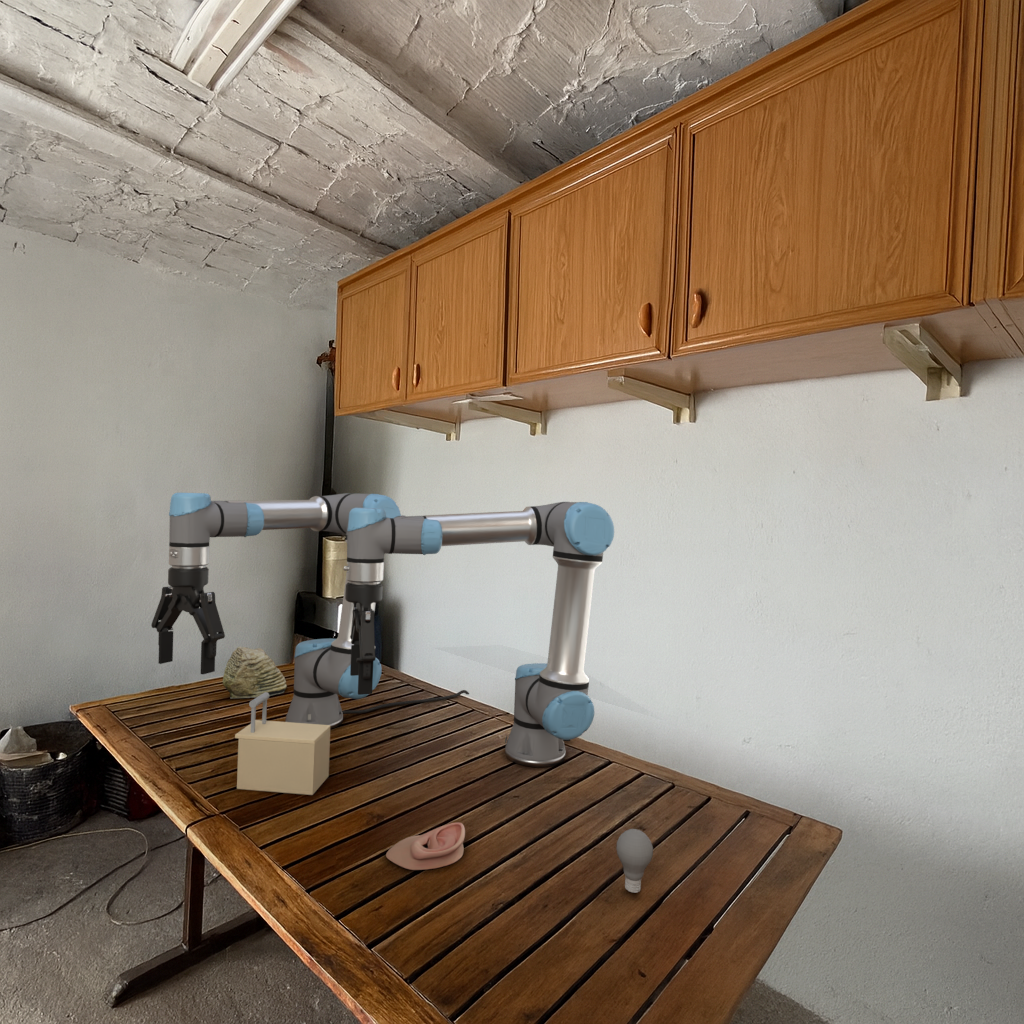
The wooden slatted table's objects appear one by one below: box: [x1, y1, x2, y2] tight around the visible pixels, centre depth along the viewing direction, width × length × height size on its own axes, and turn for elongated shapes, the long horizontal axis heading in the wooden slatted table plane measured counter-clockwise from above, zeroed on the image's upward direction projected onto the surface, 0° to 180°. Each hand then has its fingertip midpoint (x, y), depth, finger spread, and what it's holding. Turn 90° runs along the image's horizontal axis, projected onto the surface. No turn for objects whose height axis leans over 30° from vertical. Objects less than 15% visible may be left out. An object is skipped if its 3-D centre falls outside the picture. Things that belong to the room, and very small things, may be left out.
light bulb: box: [615, 828, 654, 894], centre depth 106 cm, size 6×6×10 cm
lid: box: [234, 692, 331, 744], centre depth 139 cm, size 18×9×8 cm, turn 85°
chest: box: [236, 729, 331, 796], centre depth 140 cm, size 17×9×11 cm, turn 85°
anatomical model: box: [385, 821, 466, 871], centre depth 114 cm, size 13×4×12 cm
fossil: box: [222, 646, 288, 699], centre depth 198 cm, size 9×18×15 cm, turn 132°
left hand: (186, 667), depth 133 cm, fingers open, 13 cm apart
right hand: (360, 684), depth 132 cm, fingers open, 13 cm apart
